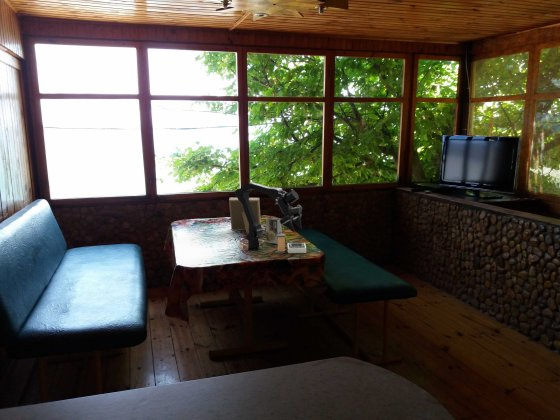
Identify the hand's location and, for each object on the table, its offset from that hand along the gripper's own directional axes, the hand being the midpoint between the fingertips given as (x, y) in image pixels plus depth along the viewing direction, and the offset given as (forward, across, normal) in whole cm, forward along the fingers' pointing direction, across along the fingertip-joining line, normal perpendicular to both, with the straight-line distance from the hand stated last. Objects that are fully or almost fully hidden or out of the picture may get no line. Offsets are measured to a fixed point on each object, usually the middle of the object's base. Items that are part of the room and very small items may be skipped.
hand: (297, 230), depth 248 cm
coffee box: (-2, +20, +31) cm, 36 cm away
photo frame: (-21, +38, +60) cm, 74 cm away
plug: (+5, +4, +19) cm, 21 cm away
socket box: (+10, +9, +12) cm, 18 cm away
